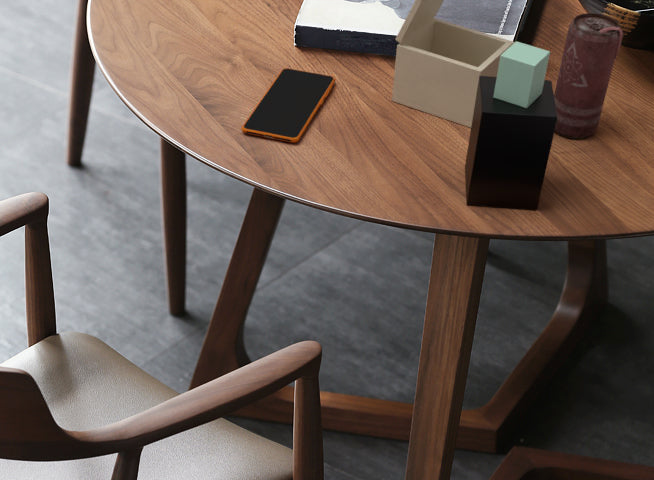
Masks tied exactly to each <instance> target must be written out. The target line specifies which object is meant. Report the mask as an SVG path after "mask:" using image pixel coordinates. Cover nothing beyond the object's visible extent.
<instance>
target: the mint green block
mask: <svg viewBox="0 0 654 480" xmlns="http://www.w3.org/2000/svg"><path fill="white" fill-rule="evenodd" d="M550 55H551V51H550V50H546V49H544V48H540V47H537V46H534V45H531V44H527V43H523V42H521V41H517V40H516V41H514V44H513V45H512V46H510V47H509V48H508V49H507V50H506V51H505V52H504V53H503V54H501V56H500V61H499V67H498V73H497V79H496V85H495V91H494V96H493V97H494V98H496V99H499V100H503V101H506V102H509V103H512V104H515V105H518V106H521V107H524V108H528V107H529V106H530V105H531V104H532V103H533V102H534V101H535V100H536V99H537V98H538V97H539V96H540V95H541V94H542V90H543V85H544V80H546V79H545V78H546V74H547V70H548V65H549V60H550Z"/></svg>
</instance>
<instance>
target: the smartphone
mask: <svg viewBox="0 0 654 480" xmlns="http://www.w3.org/2000/svg"><path fill="white" fill-rule="evenodd" d="M335 82H336V78H335V77H334V76H333V75H327V74H322V73H317V72H311V71H305V70H299V69H294V68H289V67H285V68H282V69H281V70H280V72H279V73H278V74H277V76H276V78H275V79H274V80H273V82H272V83H271V84H270V85H269V88H268V89H267V91H266V92H265V93H264V95H263V96H262V97H261V99H260V101H259V102H258V104H257V105H256V106H255V107H254V109H253V110H252V112H251V113H250V115H249V116H248V117H247V119H246V120H245V122H244V123H243V125H242V126H241V132H243V134H247V135H253V136H257V137H263V138H267V139H273V140H277V141H282V142H288V143H298V142H299V140H301V138H302V136H303V134H304V133H305V131H306V129H307V128H308V126H309V125H310V124H311V121H312V120H313V118H314V116H315V115H316V113H317V111H318V110H319V108H320V106H322V105H323V104H324V101H325V99H326V98H327V97H328V95H329V93H330V92H331V90H332V89H333V86H334V84H335Z"/></svg>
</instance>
